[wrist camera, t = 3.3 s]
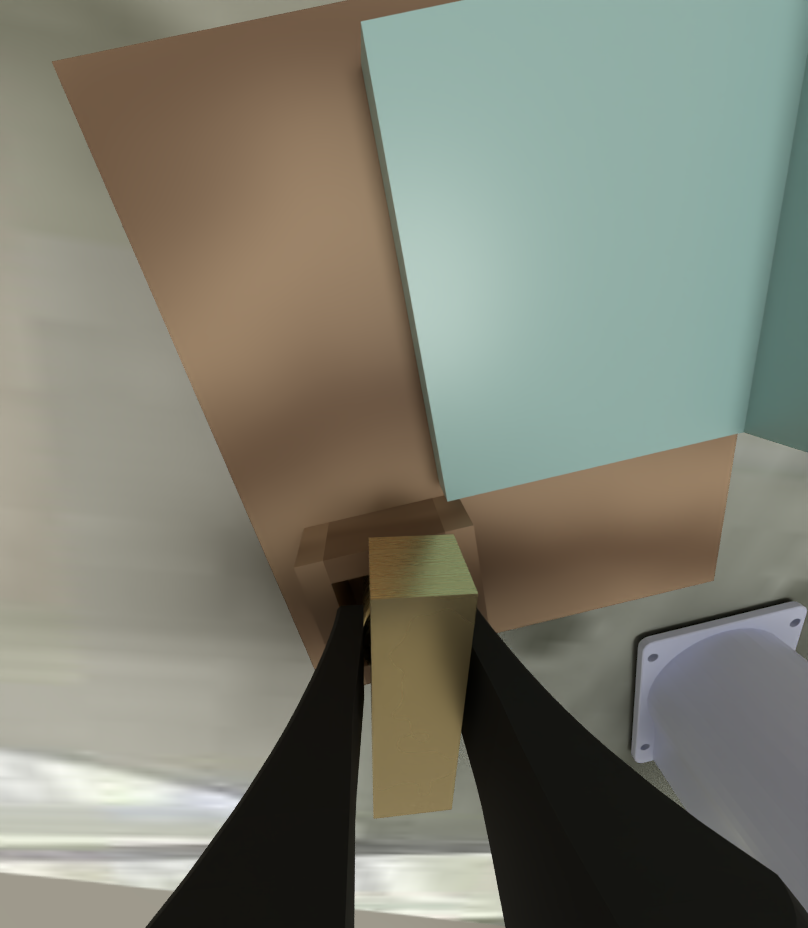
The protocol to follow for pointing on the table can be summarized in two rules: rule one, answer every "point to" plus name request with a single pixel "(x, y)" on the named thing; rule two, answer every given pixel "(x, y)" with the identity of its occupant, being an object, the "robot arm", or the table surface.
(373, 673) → the tan block with knob
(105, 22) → the table surface
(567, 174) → the cover
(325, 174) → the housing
